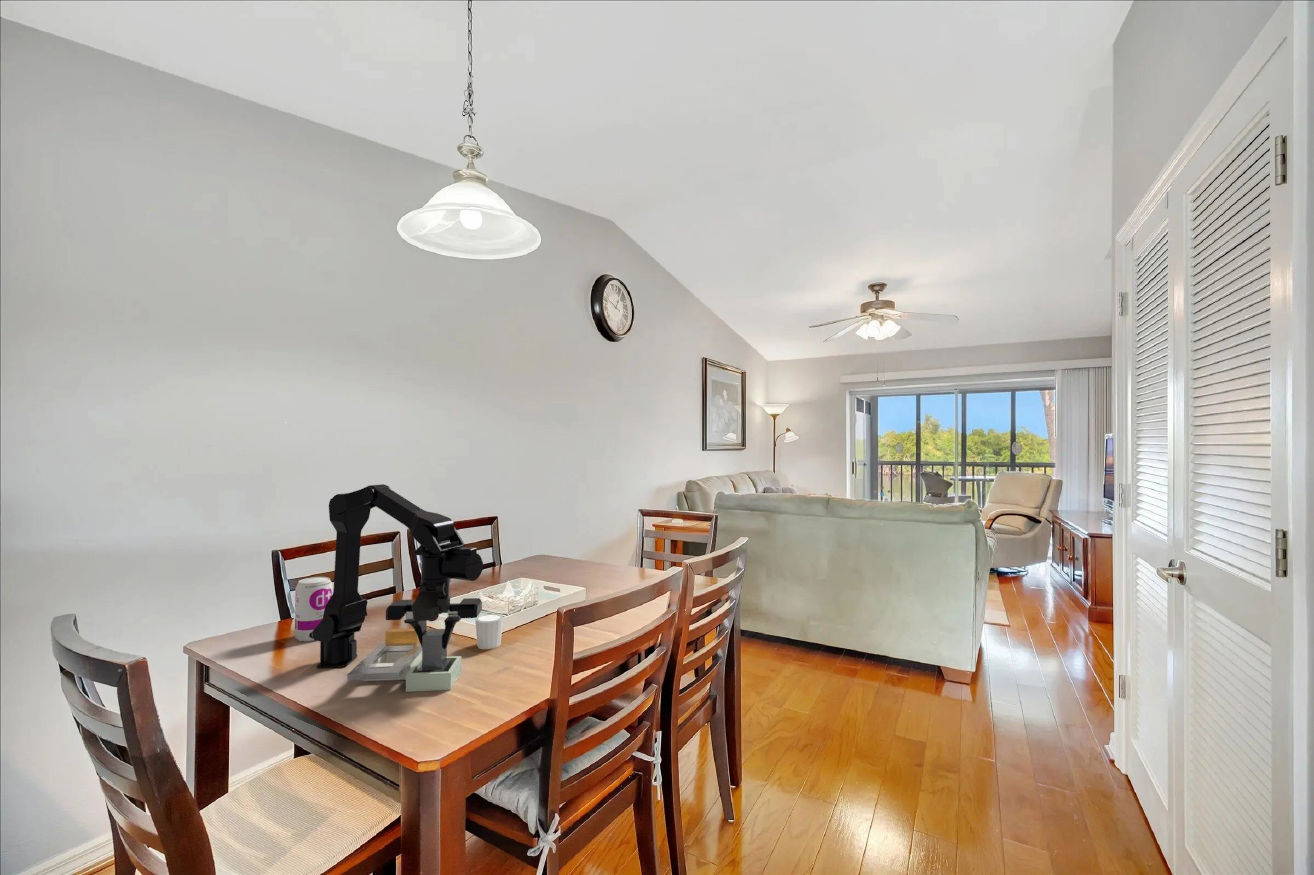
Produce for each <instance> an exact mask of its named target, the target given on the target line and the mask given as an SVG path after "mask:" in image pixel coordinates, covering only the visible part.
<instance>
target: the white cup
mask: <svg viewBox="0 0 1314 875" xmlns="http://www.w3.org/2000/svg"><path fill="white" fill-rule="evenodd" d="M474 619H475V629H476V631H475V632H476V643H477V648H478V649H481V650H493V649H495V648H496V649H497V648H498V647H501V644H502V633H503V624H504V623H503V622H504V616H503V615H501V614H498V613H488V614H482V615H478V616H477V617H476V618H474Z"/></svg>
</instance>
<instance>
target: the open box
mask: <svg viewBox="0 0 1314 875" xmlns="http://www.w3.org/2000/svg"><path fill="white" fill-rule="evenodd" d="M448 659H451V668H450V669H449V671H448V672H423V673H418V669H419V668H420V667H421V665H422V658H419V659H418V661H417V662H416V663H415V664H414V665H413V667H412V668H411V669H410V670H409V672H408V673H407V674H406V680H405V692H406V693H409V692H428V691H429V692H431V691H452V689H453V687H454V684H455V683H456V682H457V679H458V678H459V676H460V674H461V673H462V655H457V656H447V660H448Z"/></svg>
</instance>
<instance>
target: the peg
mask: <svg viewBox="0 0 1314 875" xmlns="http://www.w3.org/2000/svg"><path fill="white" fill-rule="evenodd" d="M444 633H445V628H436V629H435V628H434V629H433V628H432V629H430V628H429V629H428V628H427V631H426V632H425V634H424V635H423V636H422V665H421V667H420V668H419V669H418V673H423V672H448V671H449V669H450V668H451V659H448V660H447V657H448V647H447V648H446V649H444V644H443V642H444Z"/></svg>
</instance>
